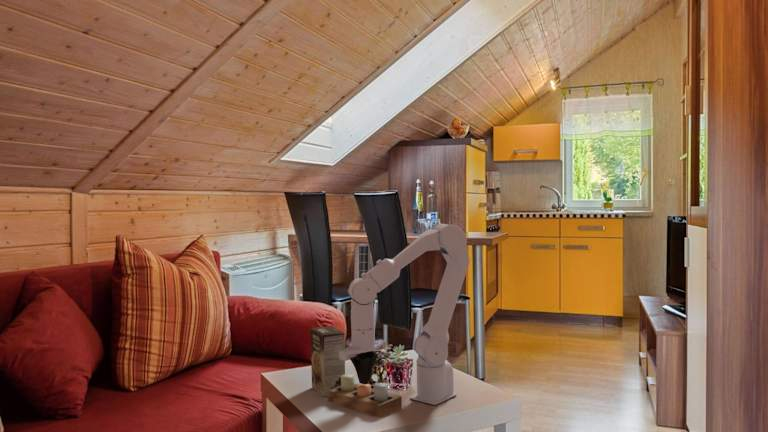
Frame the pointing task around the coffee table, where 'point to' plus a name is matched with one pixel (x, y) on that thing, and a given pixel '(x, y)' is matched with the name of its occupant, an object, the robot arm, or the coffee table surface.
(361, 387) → the orange egg
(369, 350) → the robot arm
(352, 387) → the pale green egg
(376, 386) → the white egg
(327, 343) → the coffee box
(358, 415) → the coffee table surface
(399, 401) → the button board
